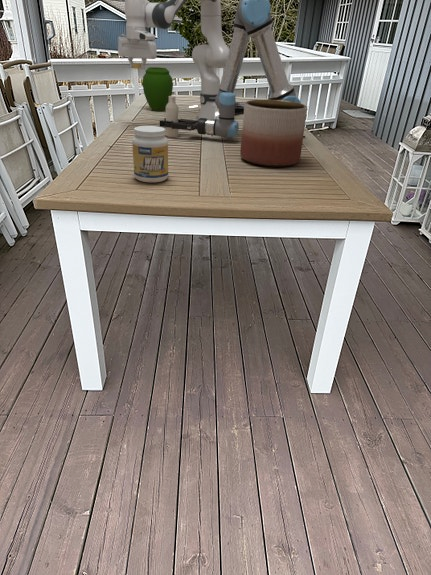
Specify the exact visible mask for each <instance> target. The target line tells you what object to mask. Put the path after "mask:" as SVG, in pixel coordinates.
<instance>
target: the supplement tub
mask: <svg viewBox="0 0 431 575" xmlns="http://www.w3.org/2000/svg"><path fill="white" fill-rule="evenodd" d="M133 130H134V131H133V134H134V136H133V137H132V140H131V144H132V160H133V176H134V178H135V179H136V180H138V181H139V182H143V183H161V182H164V181H166V180H167V179H168V177H169V141H168V138H167V136H166V128H165V127H160V126H159V125H158V126H157V125H139V126H136V127H134V128H133Z"/></svg>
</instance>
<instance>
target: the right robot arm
mask: <svg viewBox="0 0 431 575" xmlns="http://www.w3.org/2000/svg"><path fill="white" fill-rule="evenodd" d="M271 8H272V7H271V3H270V0H239V2H238V3H237V7H236V12H235V15H234V21H233V26H232V29H233V34H232V37H231V41H230V45H229V53H228V57H227V61H226V65H225V67H224V69H223V72H222V76H221V79H220V87H219V91H218V95H217V96H216V98H215V104H216V106H217V108H218V109H219V119H210V118H208V119H207V118H199V119H197V120H196V119H186V118H178V122H173V121H172V122H171V121H166V117H164V120H161V119H160V120H158V122H159V123H158V124H159V127H162V128H166V127H170V128H172V129H178V130H182V131H183V130H184V131H189V132H190V131H195V130H197V134H199V135H204V136H205V135H207V136H210V137H214V136H215V137H225V138H236V137H237V136H238V133H239V126H240V124H239V122H238V121H237V120H235V116H234V114H236V113H235V103H236V102H237V101H236V94H235V91H236V87H237V83H238V79H239V76H240V73H241V69H242V66H243V62H244V58H245V55H246V51H247V48H248V44H249V40H250V38H252V40H253V43H254V45H255V50H256V52H257V54H258V57H259V61H260V63H261V66H262V69H263V72H264V74H265V77H266V80H267V84H268V86H269V90H268V95H267V97H268V98H267V100H282V101H291V102H296V103H301V104H302V101H300V98H299V97H298V96H297V94H296V90H295V88H294V85H292V84H290V83H289V80H288V77H287V74H286V70H285V67H284V64H283V61H282V58H281V54H280V52H279V49H278V46H277V45H278V44H277V42H276V39H275V36H274V32H273V30H272V28H273V25H274V21H273V20H274V19H273V17H272V14H271V12H272V11H271V10H272V9H271ZM304 138H305V139H306V135H303V139H304Z"/></svg>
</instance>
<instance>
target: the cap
mask: <svg viewBox="0 0 431 575" xmlns="http://www.w3.org/2000/svg"><path fill="white" fill-rule="evenodd" d="M140 65H142V62H133V68H132V69H137V70H138V69H140ZM140 70H141V69H140Z"/></svg>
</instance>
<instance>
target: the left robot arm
mask: <svg viewBox="0 0 431 575" xmlns="http://www.w3.org/2000/svg"><path fill="white" fill-rule="evenodd" d="M186 1H187V0H166V1H161V2H150V1H149V0H124V15H125V19H126V23H125V31H126V32H125V33H120V34H119V35H118V37H117V39H118V40H117V42H118V44H117V53H118V56H119V57H122V58H123V57H124V58H127V60H128V62H129V65H130V69H134V68H133V63H134V61H133V60H134V58H135V59H141V63H142V65H140V70H146V63H147V61H148V60H155V59H156V58H157V57H158V53H157V52H158V51H157V43H156V42H155V40H156V35H155V34H153V33H151V32H149V31H147V29H146V28H155V29H163V30H167V29H169V28H170V27H171V26H172V25H173V22H174V20H175V17H176V16H177V14H178V13H179V12H180V10H181V8H182V7H183V6H184V5H185V3H186ZM196 1H200V30H201V31H200V32H201V34H202V35H203V36H204V37H205V39H206V40H207V43H208V44H199V45H196V46H194V47H193V49H192V52H191V59H192V62H193V63H194V64H195V65H196V68H197V69H198V71H199V76H200V94H199V102H200V104H199V111H198V116H197V120H199V118H207V119H208V118H210V119H219V109H218V108H217V106H216V104H215V98H216V96H217V95H218V91H219V87H220V84H221V78H220V77H219V76H218V75H217V74H216V71H215V69H223V68H225V65H226V61H227V57H228V53H229V49H230V47H228V45H227V44H226V42H225V40H224V36H223V30H222V6H221V0H196ZM197 107H198V105H197V104H196V105H191V106H188V108H189V109H191V108H197ZM242 114H244V113H243V112H240V113H235V114H234V117H236V116H239V115H242Z"/></svg>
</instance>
